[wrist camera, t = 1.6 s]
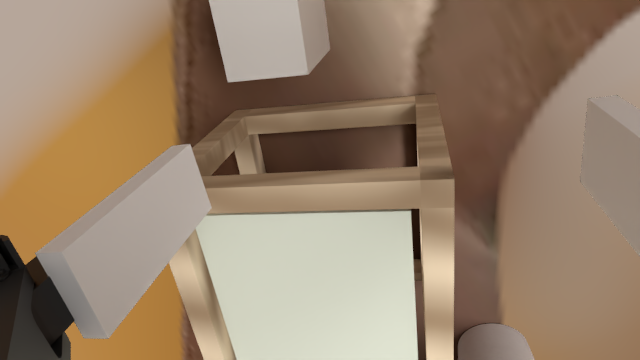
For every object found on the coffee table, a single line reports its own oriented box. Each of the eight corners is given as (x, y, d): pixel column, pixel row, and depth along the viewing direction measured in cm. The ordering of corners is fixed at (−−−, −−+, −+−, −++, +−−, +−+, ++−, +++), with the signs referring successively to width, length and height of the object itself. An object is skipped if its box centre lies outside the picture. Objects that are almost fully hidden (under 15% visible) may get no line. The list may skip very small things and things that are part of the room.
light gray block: (250, -30, 30) (202, -28, 23) (319, -42, 29) (291, -43, 22) (266, 56, 32) (227, 82, 25) (330, 49, 31) (308, 74, 24)
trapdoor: (212, 191, 26) (173, 237, 22) (410, 183, 23) (411, 235, 19) (271, 399, 34) (251, 463, 30) (421, 411, 32) (423, 483, 27)
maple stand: (235, 110, 35) (142, 191, 23) (435, 93, 31) (454, 179, 19) (271, 265, 42) (215, 390, 29) (438, 266, 38) (453, 409, 26)
